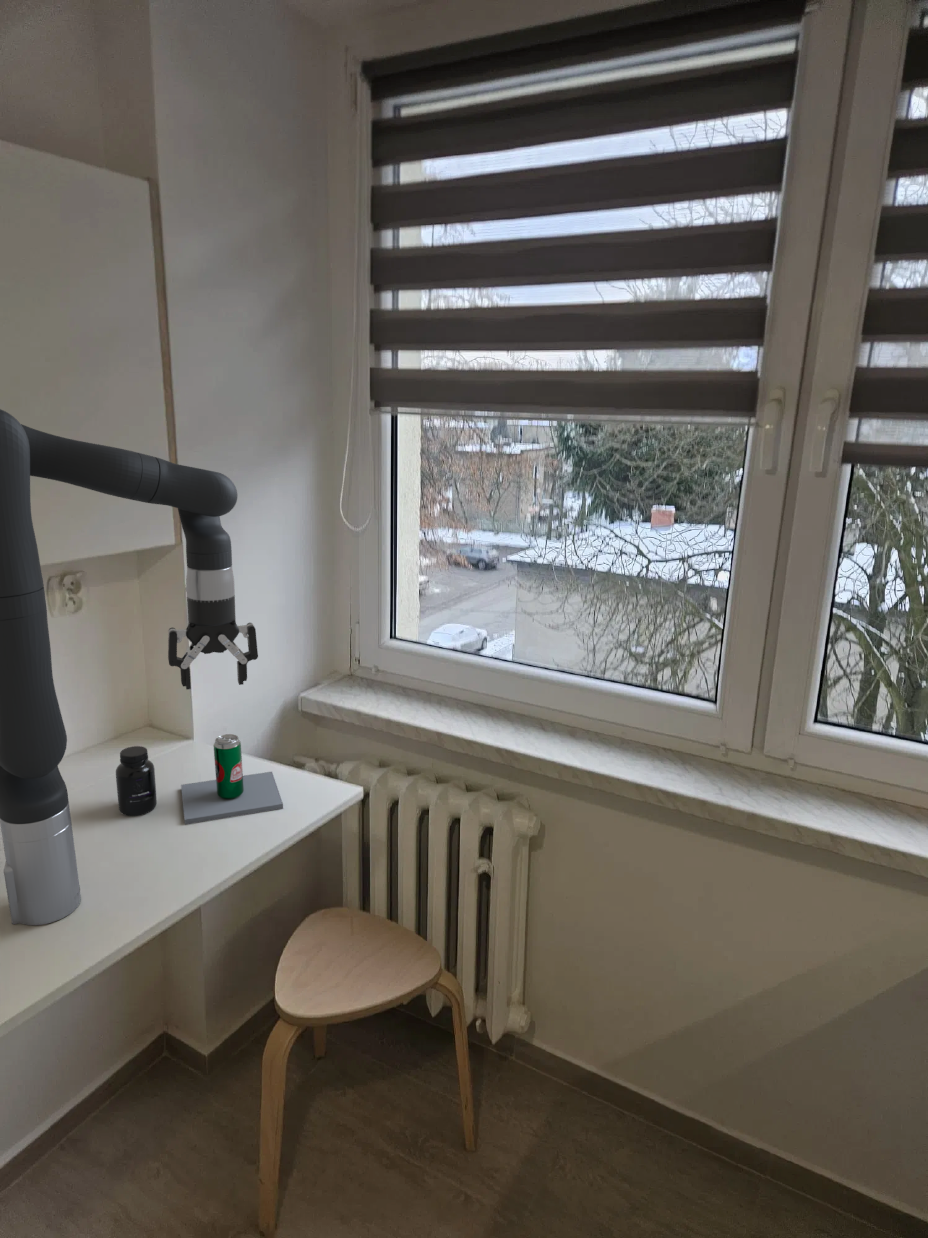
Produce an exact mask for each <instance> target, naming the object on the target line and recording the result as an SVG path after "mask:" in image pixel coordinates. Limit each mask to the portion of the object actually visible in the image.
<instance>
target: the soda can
mask: <svg viewBox="0 0 928 1238" xmlns="http://www.w3.org/2000/svg"><path fill="white" fill-rule="evenodd" d="M213 757H214V770H215V771H214V772H215V780H216V785H217V795H218V796H219V797H221V798H222V799H235V798H237V797H239V796H240V795H241V794H242V793H243V791H244V785H243V776H244V773H243V772H244V771H243V758H242V757H243V755H242V742H241V741H240V739H239V737H238V735H236V734H231V733H229V734H228V733H227V734H222V735H219V736H217V737H215V739H214V743H213Z"/></svg>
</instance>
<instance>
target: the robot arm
mask: <svg viewBox="0 0 928 1238" xmlns="http://www.w3.org/2000/svg"><path fill="white" fill-rule="evenodd" d="M31 477H35V478H36V477H37V478H41V479H47V480H52V481H55V482H62V483H66V484H70V485H73V486H77V487H80V488H83V489H87V490H91V491H94V492H97V493H98V492H99V493H101V494H105V495H108V496H113V497H117V498H121V499H125V500H126V499H127V500H129V501H130V500H131V501H136V502H140V503H146V504H152V505H161V506H168V507H173V508H176V509H177V510H178V515H179V519H180V525H181V529H182V531H183V533H184V538H185V554H186V555H185V556H186V580H185V581H186V582H185V592H186V602H187V603H186V606H187V609H186V610H187V622H188V623H187V626H186V628H185V629H176V628H175V627H169V628H168V630H167V632H168V634H167V635H168V638H167V639H168V641H167V643H168V645H167V646H168V647H167V650H168V651H167V654H168V655H167V656H168V657H167V659H168V665H169V666H170V667H177V668H179V669H180V682H181V685H182V687H185V688H186V689H185V690H186V691H187V690H192V687H191V686H192V685H191V669H190V665H191V664H192V662H193V661H194V660H195V659H196V658H197V657H198V656H199V655H200V653H203V654H204V655H207V654H213V653H217V654H222V653H223V654H224V652H226V651H229V652H230V654H232V655H233V657H235V658H236V659H237V661H236V666H237V667H236V671H237V672H236V673H237V682H238V685H240V686H241V685H244V682H247V679H248V663H249V662H251V661H255V660H257V659H258V658H259V653H258V652H259V651H258V642H257V632H256V627H255V625H254V624H253V623H252V622H248V623H246V624H245V625H243V624H242V625H238V624H237V621H236V618H237V617H236V599H235V597H236V595H235V593H236V592H235V578H234V577H235V576H234V571H233V557H232V555H233V554H232V553H233V552H232V541H231V536H230V535H229V533H228V532H227V531H226V530H225V529H224V528H223V525H222V523H221V517H222V516H224V515H227V514H228V513H230V512H231V511H232V510H233V509H234V508H235V507H236V504H237V502H238V490H237V488H236V485H235V483H234V482H233V481H232V479H230V478H229V476H227V475H226V474H224V473H221V472H218V471H213V470H209V469H204V468H199V467H193V466H189V465H184V464H183V465H182V464H177V463H173V462H171V461H168V460H165V459H163V458H160V457H156V456H153V455H148V454H145V453H141V452H137V451H133V450H128V449H124V448H121V447H120V448H119V447H114V446H110V445H104V444H99V443H98V444H97V443H93V442H88V441H82V440H78V439H77V440H76V439H73V438H68V437H63V436H59V435H55V434H51V433H48V432H44V431H41V430H38V429H35V428H32V427H29V426H27V425H24V424H22V423H20V421H19V420H18V419H17V418H15V416H13V415H12V414H11V413H9V412H7V411H6V410H3V409H1V408H0V830H1V836H2V837H1V839H2V843H3V844H2V845H3V850H4V858H5V863H4V866H3V874H4V875H3V876H4V881H5V882H4V883H5V889H6V893H7V901H8V908H9V915H10V919H11V924H12V925H16V924H17V925H18V924H23V925H28V926H40V925H42V926H43V925H46V924H47V925H48V924H51V923H54V922H57V921H60V920H61V919H64V918H66V917H67V916H69V915H71V913H73V912H74V911H75V910H76V909H77V908H78V906H79V905H80V904H81V900H82V897H81V885H80V880H79V871H78V863H77V856H76V849H75V840H74V839H75V838H74V831H73V827H72V826H73V824H72V817H71V809H70V801H69V794H68V792H69V791H68V789H67V784H66V782H65V780H64V778H63V776H62V774H61V772H60V768H59V764H60V763H61V762H62V760H63V758H64V755H65V753H66V750H67V746H68V745H67V742H68V737H67V731H66V727H65V723H64V720H63V715H62V712H61V708H60V704H59V701H58V700H59V699H58V696H57V692H56V688H55V684H54V683H55V681H54V677H53V666H52V665H53V664H52V652H51V651H52V650H51V640H50V631H49V624H48V610H47V609H48V608H47V601H46V600H47V599H46V594H45V593H46V592H45V587H44V586H45V584H44V579H43V578H44V577H43V574H42V568H41V562H40V561H41V560H40V555H39V547H38V544H37V538H36V535H35V530H34V529H35V528H34V523H33V518H32V516H33V515H32V506H31ZM239 634H242V636H243V638H245V639H247V648H248V651H246V652H243V651H242V650H241V648H239V646H238V645H237V644H236V642H235V640H236V638H237V637H238V636H239ZM184 637H186V638H187V639H188V640H189V642H190V644H189V646H188V647H187V648H186V650H185V653H184V654H183V655H182V657H179V656H178V644H180V643H181V642H182V640H183V638H184Z"/></svg>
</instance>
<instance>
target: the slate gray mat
mask: <svg viewBox="0 0 928 1238" xmlns="http://www.w3.org/2000/svg"><path fill="white" fill-rule="evenodd" d="M243 785H244V791H243V793H242V794H241V795H240V796H239V797H237V798H235V799H222V798H221V797H219V796H218V795H217V785H216V779H212V780H211V779H210V780H205V781H197V782H191V783H183V784H181V785H180V788H181V798H182V799H181V800H182V807H183V818H184V825H188V824H189V825H192V824H198V823H203V822H207V821H208V822H209V821H215V820H221V819H226V818H233V817H238V816H245V815H252V814H255V813H256V814H257V813H265V812H269V811H276V810H281V809H282V810H283V809H284V803H283V800H282V798H281V794H280V791H279V788H278V785H277V781H276V779H275V776H274V773H273V771H267V772H265V771H264V772H260V773H259V772H258V773H253V774H245V775H244V774H243Z"/></svg>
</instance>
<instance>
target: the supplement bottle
mask: <svg viewBox="0 0 928 1238" xmlns="http://www.w3.org/2000/svg"><path fill="white" fill-rule="evenodd" d="M119 762H120V763H119V764H118V766H117V767H116V769H115V780H116V781H115V782H116V793H117V805H118V811H119V812H120V813H121V814H122V815H125V816H128V817H138V816H139V817H140V816H143V815H147V814H149V813H151V812H152V811H153V810H154V809H155V808H156V807H157V802H158V800H157V788H156V785H157V784H156V773H155V770H156V769H155V765H154V763H153V762H152V761H151V760H149V754H148V749H147V747H145V746H142V745H141V746H139V745H136V746H135V745H134V746H130V747H129V746H128V747H126V748H124V749H122V750H121V751H120V752H119Z"/></svg>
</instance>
